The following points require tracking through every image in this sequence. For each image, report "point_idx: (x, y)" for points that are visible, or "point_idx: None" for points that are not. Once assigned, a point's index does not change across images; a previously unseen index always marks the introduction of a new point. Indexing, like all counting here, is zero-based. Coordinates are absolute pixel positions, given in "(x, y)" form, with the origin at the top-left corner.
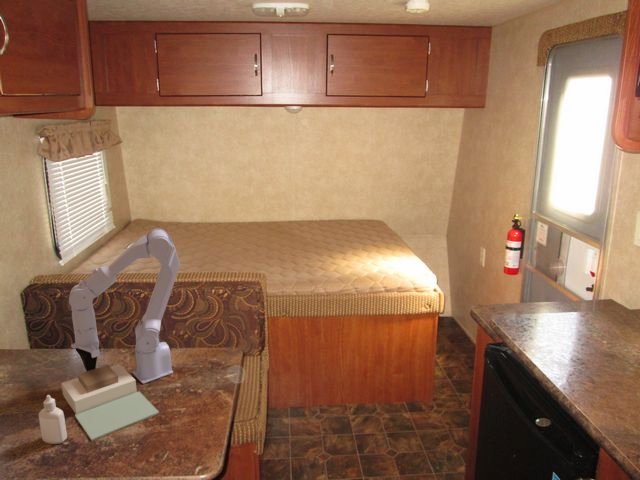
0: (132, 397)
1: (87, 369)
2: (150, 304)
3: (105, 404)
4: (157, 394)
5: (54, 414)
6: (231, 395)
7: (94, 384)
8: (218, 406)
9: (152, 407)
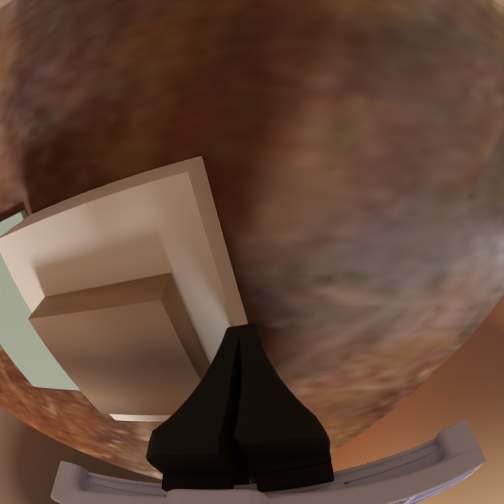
0: None
1: (222, 343)
2: None
3: None
4: None
5: None
6: (91, 455)
7: (46, 342)
8: (61, 437)
9: (47, 385)
